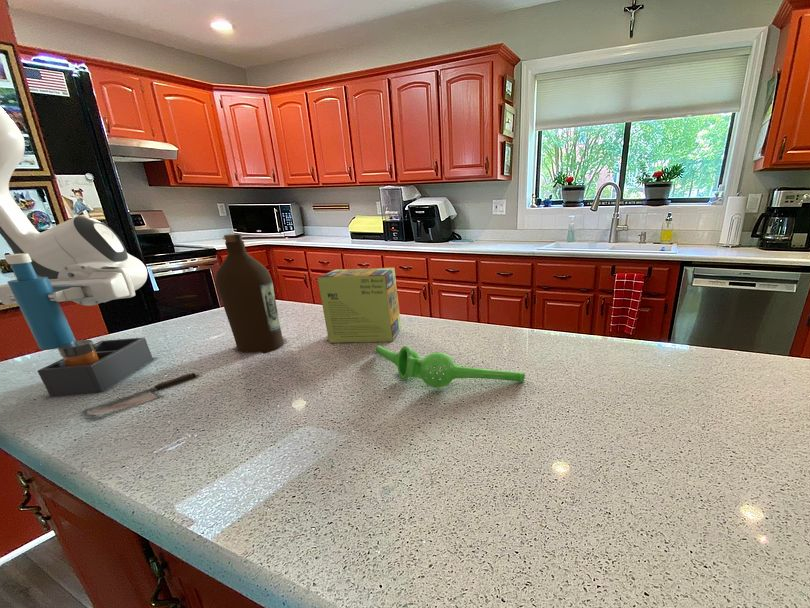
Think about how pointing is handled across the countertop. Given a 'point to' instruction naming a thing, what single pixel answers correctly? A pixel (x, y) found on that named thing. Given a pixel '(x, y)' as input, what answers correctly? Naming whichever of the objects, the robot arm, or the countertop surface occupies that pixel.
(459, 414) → the countertop surface
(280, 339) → the olive oil
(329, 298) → the protein box
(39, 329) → the water bottle
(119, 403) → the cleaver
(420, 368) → the lime squeezer
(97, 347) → the cup holder
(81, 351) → the spice jar
